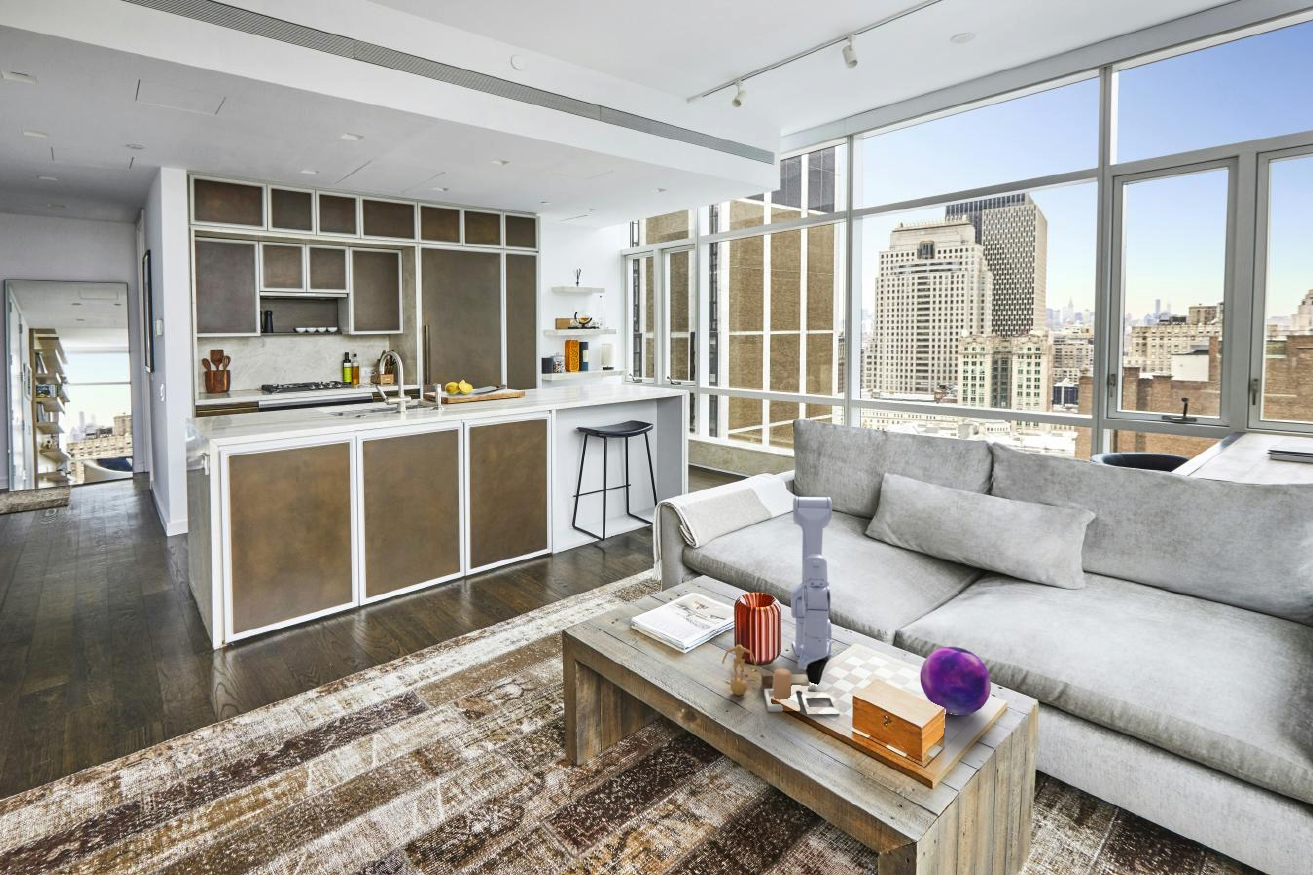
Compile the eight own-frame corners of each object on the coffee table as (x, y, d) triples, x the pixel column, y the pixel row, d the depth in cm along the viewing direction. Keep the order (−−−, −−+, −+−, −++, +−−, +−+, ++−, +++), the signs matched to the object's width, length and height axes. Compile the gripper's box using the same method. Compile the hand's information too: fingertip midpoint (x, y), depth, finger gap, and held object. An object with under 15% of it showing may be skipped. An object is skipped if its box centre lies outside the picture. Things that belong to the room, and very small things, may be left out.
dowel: (787, 695, 170) (788, 668, 169) (792, 704, 166) (793, 676, 165) (771, 696, 170) (772, 669, 169) (775, 704, 166) (776, 676, 165)
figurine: (721, 697, 171) (721, 651, 169) (722, 684, 177) (722, 640, 174) (756, 699, 170) (756, 653, 167) (756, 686, 175) (756, 641, 173)
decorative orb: (959, 736, 154) (963, 673, 151) (905, 704, 167) (908, 645, 164) (1003, 716, 161) (1007, 655, 158) (947, 686, 174) (951, 630, 171)
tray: (795, 694, 172) (795, 688, 171) (800, 711, 164) (800, 705, 164) (764, 694, 172) (764, 688, 172) (768, 711, 164) (768, 705, 164)
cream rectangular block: (805, 683, 176) (805, 674, 176) (808, 692, 172) (808, 682, 172) (777, 683, 176) (777, 674, 176) (780, 692, 172) (780, 682, 172)
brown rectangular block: (771, 685, 176) (771, 670, 175) (772, 690, 173) (772, 675, 173) (761, 685, 176) (761, 670, 175) (762, 690, 173) (762, 675, 173)
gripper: (813, 618, 180) (812, 667, 182) (786, 639, 168) (785, 691, 171) (839, 625, 175) (838, 676, 178) (813, 647, 164) (812, 701, 167)
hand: (814, 684), depth 174 cm, fingers closed
